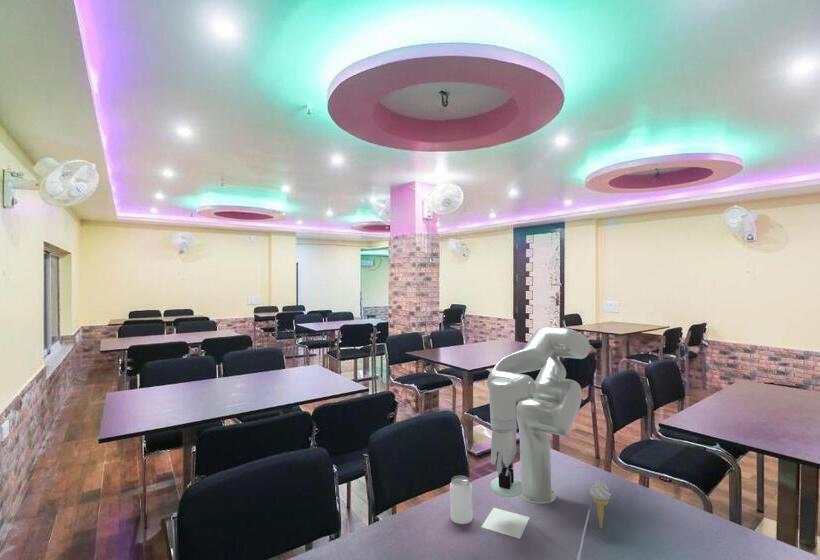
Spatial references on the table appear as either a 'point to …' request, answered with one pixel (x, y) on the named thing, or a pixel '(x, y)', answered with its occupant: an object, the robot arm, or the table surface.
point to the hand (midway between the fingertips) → (506, 484)
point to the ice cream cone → (600, 498)
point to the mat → (506, 522)
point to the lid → (514, 489)
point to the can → (461, 500)
